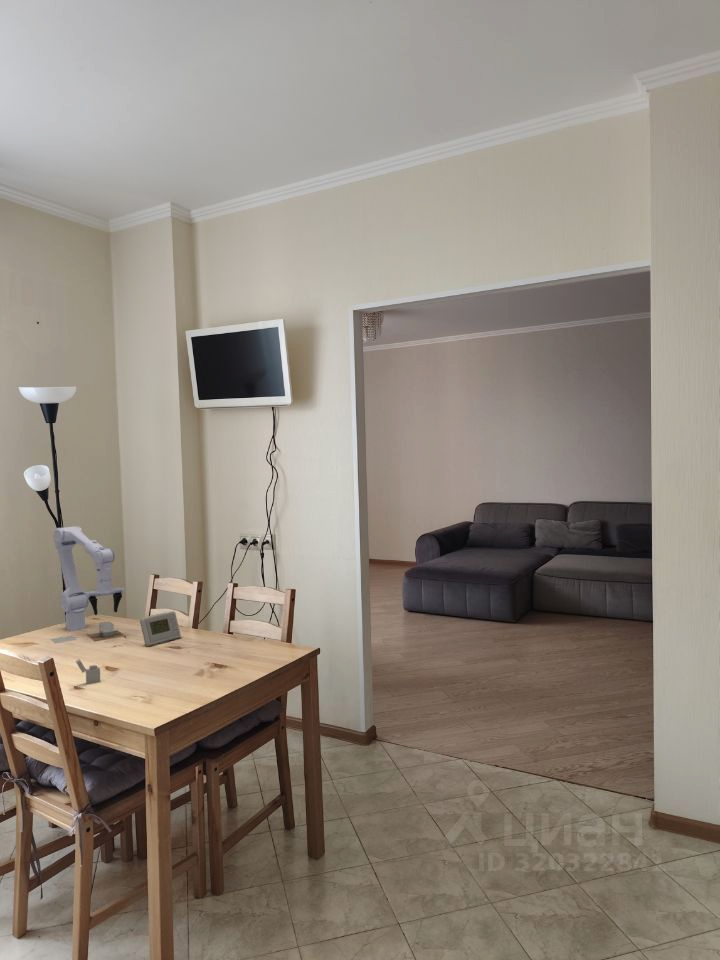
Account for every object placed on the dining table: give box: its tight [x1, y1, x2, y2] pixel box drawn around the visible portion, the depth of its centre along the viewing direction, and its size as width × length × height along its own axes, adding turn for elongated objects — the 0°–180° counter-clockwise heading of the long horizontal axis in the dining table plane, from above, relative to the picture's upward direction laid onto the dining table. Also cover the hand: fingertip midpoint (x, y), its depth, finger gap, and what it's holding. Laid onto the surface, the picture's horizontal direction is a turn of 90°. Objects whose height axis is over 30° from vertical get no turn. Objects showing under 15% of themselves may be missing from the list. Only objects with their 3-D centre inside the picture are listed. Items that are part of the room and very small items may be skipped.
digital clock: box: [139, 610, 182, 647], centre depth 270 cm, size 16×9×11 cm, turn 130°
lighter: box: [75, 658, 101, 684], centre depth 222 cm, size 7×2×8 cm, turn 121°
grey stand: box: [50, 635, 77, 644], centre depth 270 cm, size 8×8×2 cm
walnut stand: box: [87, 629, 127, 642], centre depth 275 cm, size 12×12×2 cm
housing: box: [98, 620, 115, 638], centre depth 274 cm, size 4×6×5 cm, turn 35°
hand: (105, 613), depth 275 cm, fingers open, 7 cm apart
